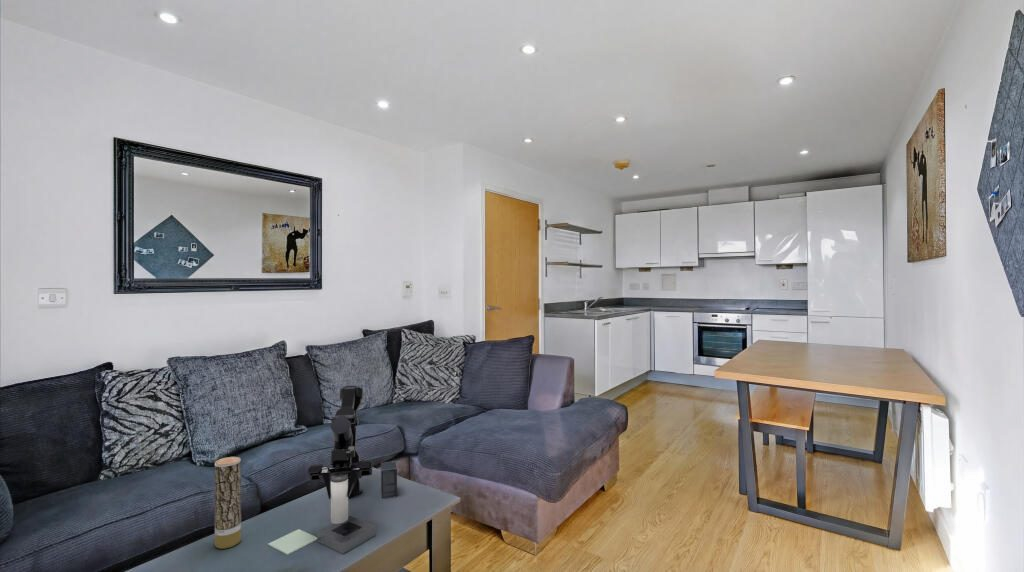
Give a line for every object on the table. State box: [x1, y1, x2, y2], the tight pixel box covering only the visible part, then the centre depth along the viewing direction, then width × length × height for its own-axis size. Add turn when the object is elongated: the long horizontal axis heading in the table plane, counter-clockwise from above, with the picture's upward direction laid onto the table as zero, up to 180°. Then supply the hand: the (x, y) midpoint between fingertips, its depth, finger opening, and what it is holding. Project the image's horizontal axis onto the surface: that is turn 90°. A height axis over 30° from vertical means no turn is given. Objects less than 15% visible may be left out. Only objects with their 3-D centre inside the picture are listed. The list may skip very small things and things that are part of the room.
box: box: [380, 460, 398, 499], centre depth 176 cm, size 8×6×11 cm
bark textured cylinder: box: [214, 456, 242, 550], centre depth 142 cm, size 7×7×25 cm
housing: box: [316, 515, 377, 555], centre depth 144 cm, size 12×12×3 cm
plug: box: [330, 473, 349, 524], centre depth 143 cm, size 5×5×13 cm
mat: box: [267, 528, 317, 556], centre depth 142 cm, size 10×10×1 cm
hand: (338, 497), depth 142 cm, fingers closed on plug, 5 cm apart
